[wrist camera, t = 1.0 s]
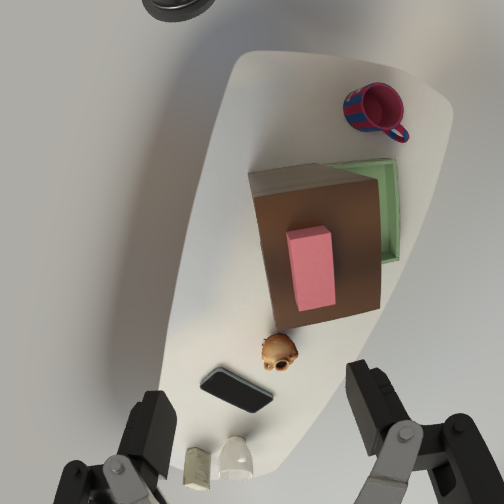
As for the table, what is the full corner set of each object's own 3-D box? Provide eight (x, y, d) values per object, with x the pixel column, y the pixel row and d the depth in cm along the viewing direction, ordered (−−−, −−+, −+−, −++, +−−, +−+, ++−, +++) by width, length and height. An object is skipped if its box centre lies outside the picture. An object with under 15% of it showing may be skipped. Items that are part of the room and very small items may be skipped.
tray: (322, 164, 40) (329, 166, 37) (385, 158, 40) (396, 159, 37) (332, 264, 46) (339, 273, 43) (390, 252, 46) (399, 260, 42)
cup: (362, 82, 36) (382, 73, 29) (401, 131, 38) (424, 131, 32) (334, 106, 37) (350, 100, 31) (375, 156, 40) (396, 159, 34)
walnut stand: (247, 173, 41) (253, 197, 21) (314, 162, 40) (378, 179, 21) (261, 250, 45) (276, 331, 25) (324, 239, 44) (380, 308, 25)
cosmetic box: (185, 450, 65) (180, 484, 54) (195, 446, 64) (191, 482, 53) (201, 458, 67) (198, 492, 55) (212, 455, 66) (210, 489, 55)
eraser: (285, 231, 22) (290, 239, 20) (323, 225, 22) (331, 232, 20) (295, 299, 24) (299, 311, 22) (329, 292, 24) (335, 304, 22)
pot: (297, 327, 51) (265, 319, 49) (310, 356, 43) (274, 350, 42) (283, 350, 53) (253, 344, 51) (293, 380, 45) (259, 375, 44)
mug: (247, 448, 65) (248, 482, 54) (217, 445, 64) (215, 479, 53) (259, 427, 61) (262, 464, 50) (226, 422, 60) (225, 461, 49)
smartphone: (252, 414, 57) (197, 387, 53) (252, 411, 58) (197, 384, 54) (275, 398, 56) (218, 369, 52) (275, 395, 56) (219, 365, 53)
